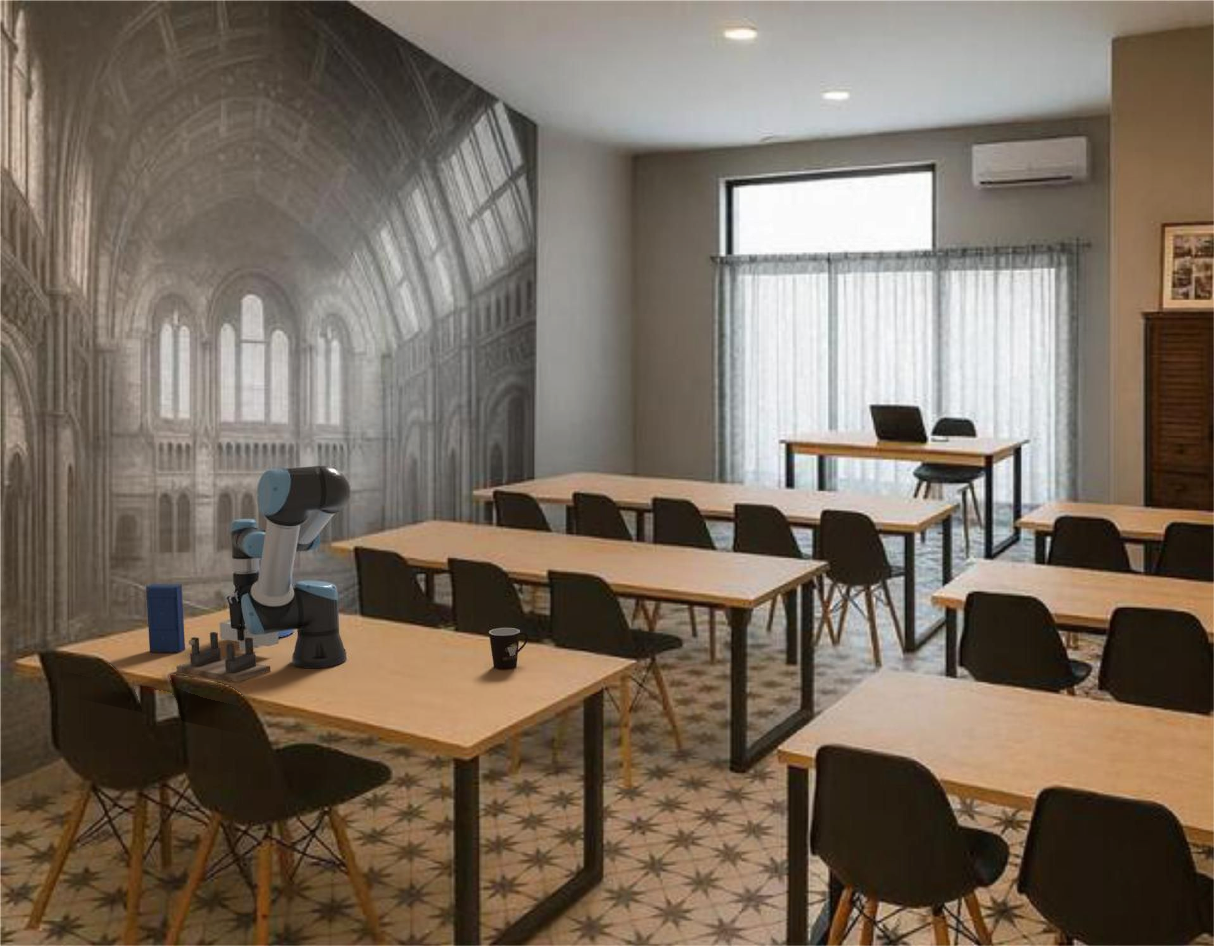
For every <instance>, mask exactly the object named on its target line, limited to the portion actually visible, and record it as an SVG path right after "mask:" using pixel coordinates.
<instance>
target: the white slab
mask: <svg viewBox="0 0 1214 946" xmlns="http://www.w3.org/2000/svg"><path fill="white" fill-rule="evenodd" d="M240 626H241V625H240ZM245 629H247V627H246V624H245ZM219 633H220V634H219V637H220V639H221V640H226V641H232V642H233V641H234V642H238V643H239V640H238V639H237V630H236V629H233V628H231V622H230V619H227V620H223V621H220V622H219ZM247 638H253V644H257V645H260V646H264V647H272V646H274V645H277V644H279V642H280V638H278V632H275V633H269V634H265V635H264V634H260V635H253V634H251V633H250V632H249V631H248V629H247Z"/></svg>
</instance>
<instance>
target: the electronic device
mask: <svg viewBox="0 0 1214 946" xmlns="http://www.w3.org/2000/svg"><path fill="white" fill-rule="evenodd" d="M182 587H183V586H182V584H179V583H177V584H174V583H172V584H171V583H170V584H169V583H168V584H167V583H165V584H163V583H161V584H160V583H159V584H157V583H153V584H152V583H151V584H149V585H147V586H146V587H145V592H146V607H147V608H146V609H147V610H146V611H147V626H148V642H149V652H150V653H177V652H180V653H181V652H184V651H185V650H186V643H185V641H186V640H185V621H184V608H183V606H184V605H183V603H184V602H183V588H182Z"/></svg>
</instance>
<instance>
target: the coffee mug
mask: <svg viewBox="0 0 1214 946" xmlns="http://www.w3.org/2000/svg"><path fill="white" fill-rule="evenodd" d="M521 635H524V636H525V641H524V642H523V644H521V646H520V647H519V644H520V636H521ZM488 636H489V641H490V648H491V649H490V651H491V657H492V662H493V668H494V669H496V670H500V671H501V670H502V671H504V670H505V671H507V670H513V669H516V668H517V666H518V665H517V664H518V656H519V655H518V654H519V652H521V651H522V649H524V647H525V646H526V644H527V642H528V640H529V635H528V633H526V632H523V631H521V630H520V629H518V628H514V627H499V628H494V629H491V630H489V631H488Z"/></svg>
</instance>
